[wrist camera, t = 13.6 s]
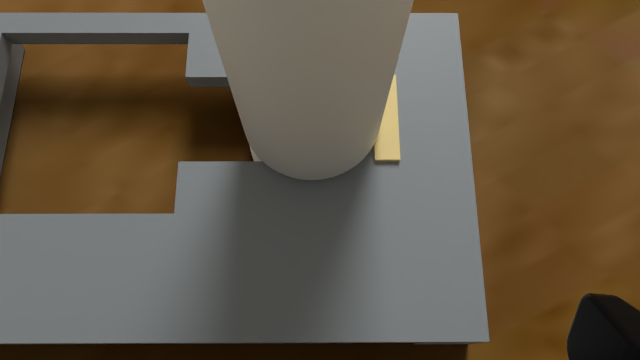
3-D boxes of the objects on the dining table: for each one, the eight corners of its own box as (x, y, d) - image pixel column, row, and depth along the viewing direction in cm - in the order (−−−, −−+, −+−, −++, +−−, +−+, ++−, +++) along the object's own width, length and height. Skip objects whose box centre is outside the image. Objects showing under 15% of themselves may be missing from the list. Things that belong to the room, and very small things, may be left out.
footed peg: (340, 225, 19) (425, -304, 4) (230, 171, 20) (-63, -466, 5) (392, 121, 20) (611, -582, 5) (287, 74, 21) (207, -679, 6)
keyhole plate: (-88, 346, 18) (-149, 343, 15) (-23, 48, 21) (-64, 10, 19) (468, 343, 18) (491, 341, 16) (443, 49, 21) (458, 10, 19)
